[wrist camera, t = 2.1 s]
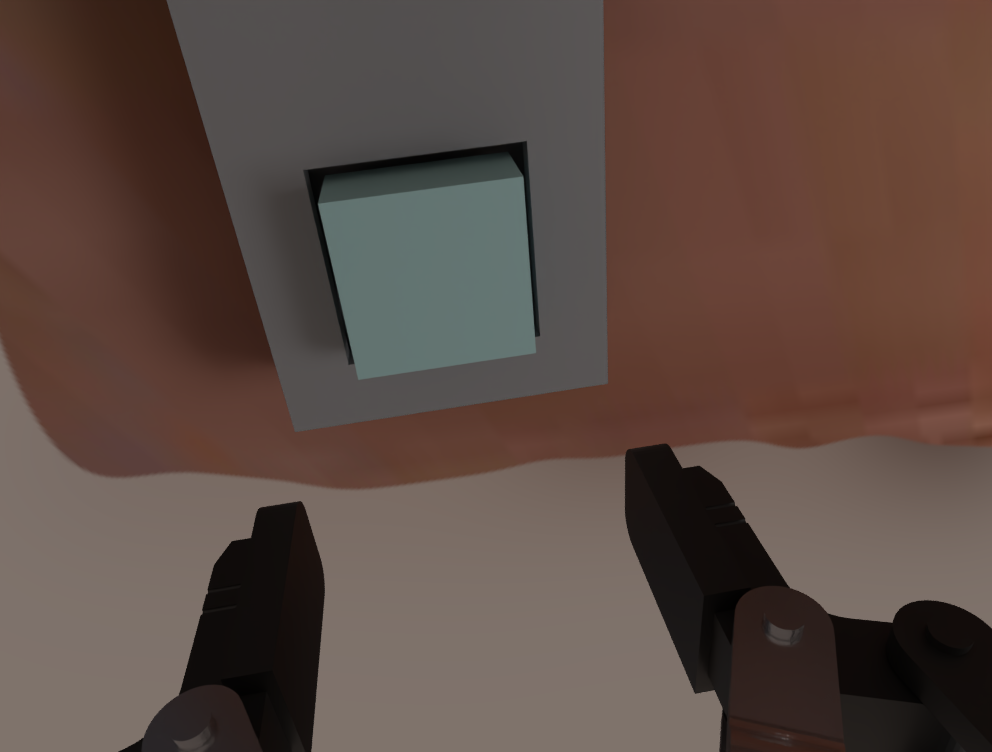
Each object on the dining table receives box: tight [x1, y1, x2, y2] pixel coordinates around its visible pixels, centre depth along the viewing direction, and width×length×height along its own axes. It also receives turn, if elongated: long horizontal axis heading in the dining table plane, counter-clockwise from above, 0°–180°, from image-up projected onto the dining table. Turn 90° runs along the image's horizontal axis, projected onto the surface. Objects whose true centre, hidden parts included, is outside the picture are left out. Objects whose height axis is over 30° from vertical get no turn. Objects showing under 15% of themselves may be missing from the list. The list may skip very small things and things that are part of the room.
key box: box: [167, 0, 608, 432], centre depth 23 cm, size 12×24×5 cm, turn 6°
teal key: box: [318, 152, 536, 380], centre depth 24 cm, size 6×6×3 cm
